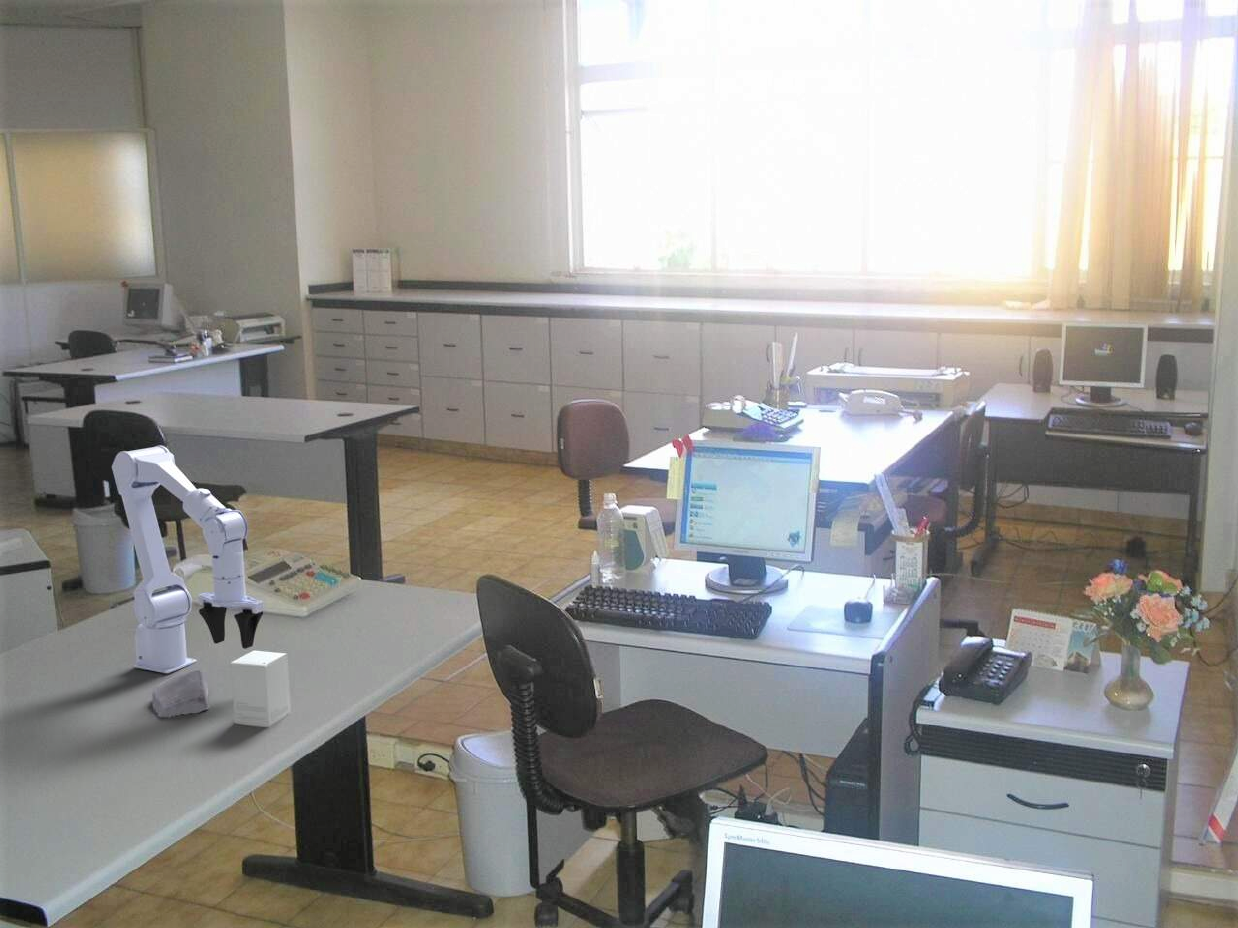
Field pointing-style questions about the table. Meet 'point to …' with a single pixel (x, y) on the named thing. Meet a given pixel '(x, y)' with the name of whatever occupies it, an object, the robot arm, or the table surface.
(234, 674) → the supplement box
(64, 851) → the table surface
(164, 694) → the stone block
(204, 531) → the robot arm
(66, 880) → the table surface
